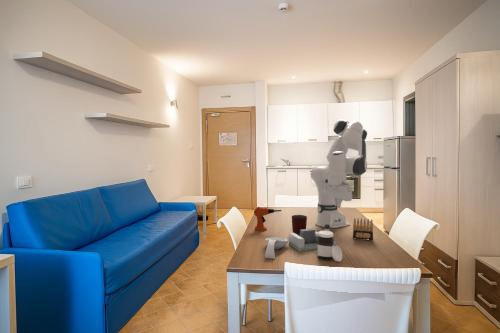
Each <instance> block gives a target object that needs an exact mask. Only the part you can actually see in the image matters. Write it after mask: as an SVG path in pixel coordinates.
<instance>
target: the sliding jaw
mask: <svg viewBox="0 0 500 333" xmlns="http://www.w3.org/2000/svg"><path fill="white" fill-rule="evenodd" d="M323 228H324V231H330V228H331V227H330V225H329V224H325V225H324V227H323ZM318 232H319V231H316V230H315V242H316V243H317V240H318V236H319V235H318Z"/></svg>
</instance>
